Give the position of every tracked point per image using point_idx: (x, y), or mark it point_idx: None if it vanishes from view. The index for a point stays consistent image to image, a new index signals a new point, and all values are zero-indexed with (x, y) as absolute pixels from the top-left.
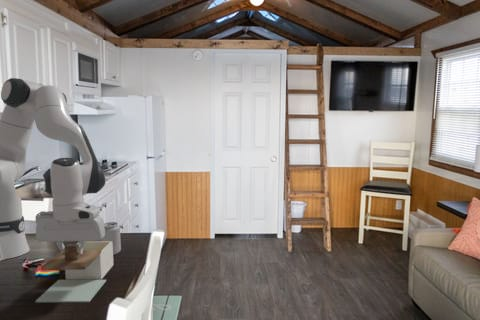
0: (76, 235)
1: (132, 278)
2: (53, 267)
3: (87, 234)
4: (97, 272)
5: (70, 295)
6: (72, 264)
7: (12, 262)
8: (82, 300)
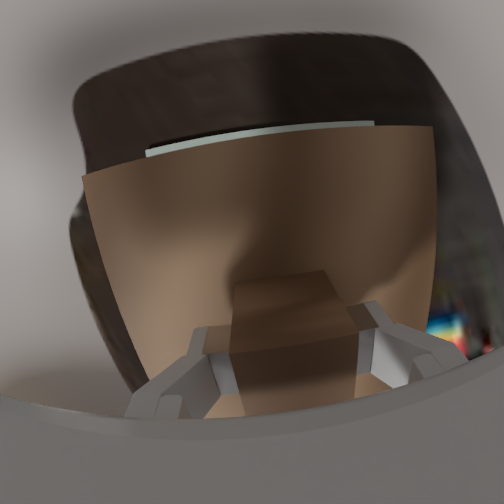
0: (153, 495)
1: (111, 343)
2: (342, 127)
3: (11, 464)
4: None
5: None
6: (201, 191)
7: None
8: (174, 147)
